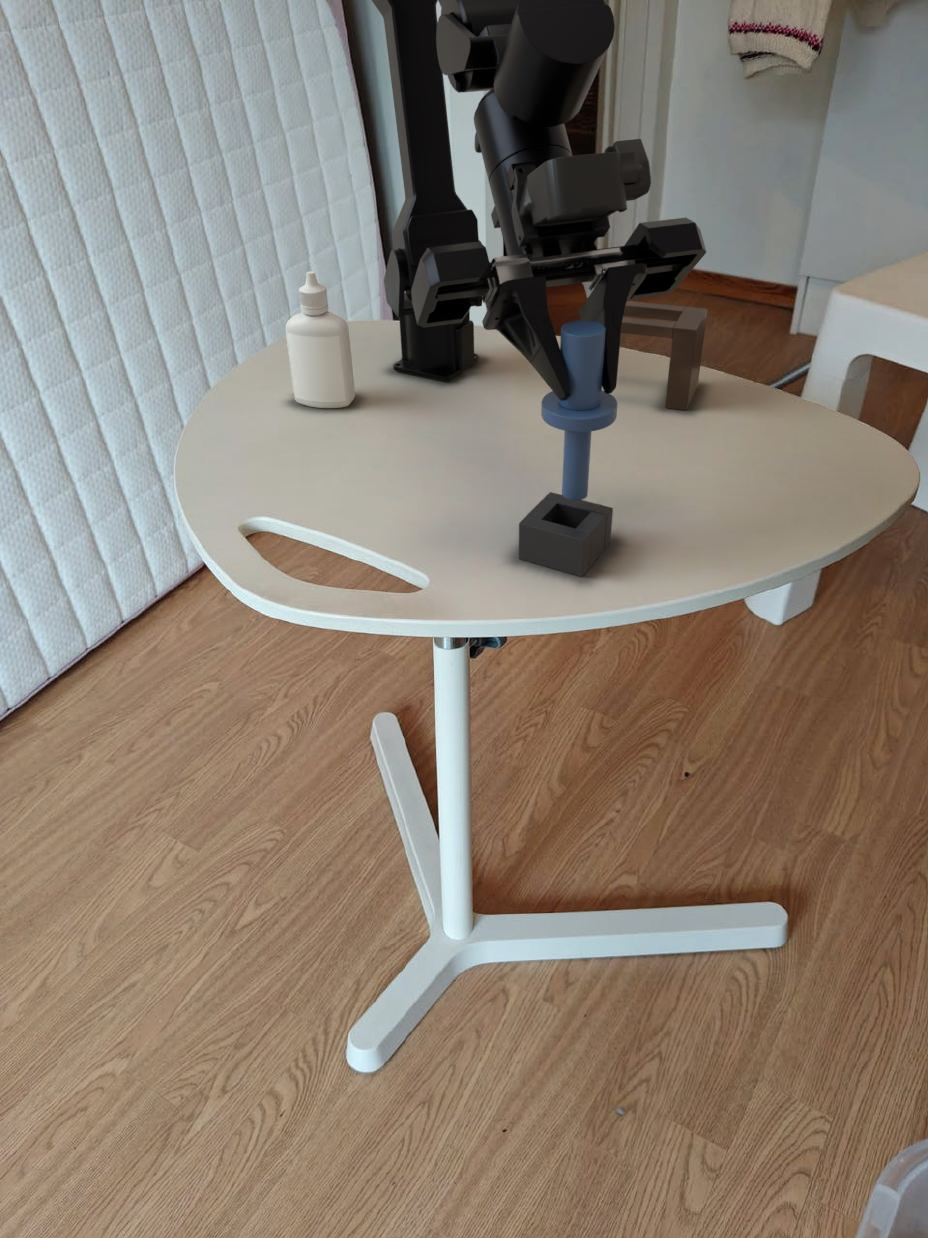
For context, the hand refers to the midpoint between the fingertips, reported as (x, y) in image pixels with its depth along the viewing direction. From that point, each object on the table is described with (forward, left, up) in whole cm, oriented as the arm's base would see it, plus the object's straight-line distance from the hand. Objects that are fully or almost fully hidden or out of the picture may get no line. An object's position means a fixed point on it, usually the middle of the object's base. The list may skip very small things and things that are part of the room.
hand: (588, 394), depth 63 cm
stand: (-5, +28, -12) cm, 31 cm away
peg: (-1, +1, -8) cm, 8 cm away
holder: (-1, 0, -12) cm, 12 cm away
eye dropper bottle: (-32, +13, -12) cm, 37 cm away
